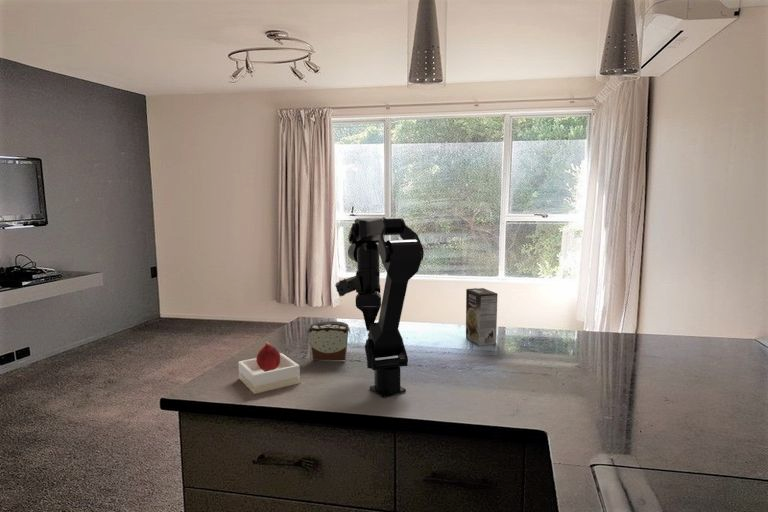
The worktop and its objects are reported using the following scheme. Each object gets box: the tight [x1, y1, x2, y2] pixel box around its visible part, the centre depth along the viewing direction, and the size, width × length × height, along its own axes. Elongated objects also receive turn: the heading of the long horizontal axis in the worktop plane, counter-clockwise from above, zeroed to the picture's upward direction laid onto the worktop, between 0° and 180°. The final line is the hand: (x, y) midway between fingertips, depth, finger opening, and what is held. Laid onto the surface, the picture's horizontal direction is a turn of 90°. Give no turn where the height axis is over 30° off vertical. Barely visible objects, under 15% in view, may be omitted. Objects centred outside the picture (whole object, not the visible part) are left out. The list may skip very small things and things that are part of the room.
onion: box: [256, 341, 281, 372], centre depth 121 cm, size 6×6×8 cm
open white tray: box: [238, 352, 301, 395], centre depth 122 cm, size 12×12×4 cm
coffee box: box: [465, 287, 498, 347], centre depth 153 cm, size 9×6×16 cm
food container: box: [306, 320, 351, 362], centre depth 139 cm, size 12×6×10 cm, turn 84°
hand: (369, 325), depth 128 cm, fingers open, 9 cm apart
